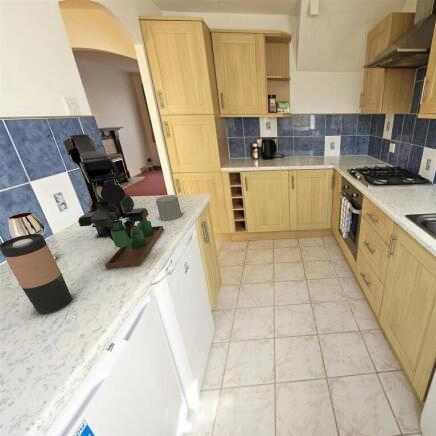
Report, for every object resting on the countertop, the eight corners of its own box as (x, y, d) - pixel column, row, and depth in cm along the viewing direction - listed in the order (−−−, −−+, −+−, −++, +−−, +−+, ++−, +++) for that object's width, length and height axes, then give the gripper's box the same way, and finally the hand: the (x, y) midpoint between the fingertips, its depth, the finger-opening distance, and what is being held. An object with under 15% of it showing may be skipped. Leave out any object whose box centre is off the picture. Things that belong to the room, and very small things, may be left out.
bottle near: (139, 239, 101) (133, 220, 98) (143, 233, 106) (138, 215, 103) (151, 237, 102) (146, 219, 99) (155, 232, 107) (150, 214, 103)
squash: (89, 207, 123) (95, 187, 115) (118, 199, 136) (125, 181, 128) (108, 227, 122) (115, 209, 115) (135, 217, 135) (143, 200, 127)
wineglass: (64, 257, 89) (43, 212, 82) (37, 270, 82) (11, 221, 75) (50, 254, 91) (28, 210, 84) (22, 266, 84) (-4, 219, 77)
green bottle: (112, 248, 82) (104, 225, 78) (119, 241, 86) (111, 219, 83) (128, 246, 82) (121, 224, 79) (134, 239, 87) (127, 218, 84)
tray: (106, 269, 81) (104, 264, 81) (139, 231, 108) (137, 228, 107) (139, 265, 83) (138, 260, 82) (163, 229, 109) (162, 225, 109)
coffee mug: (182, 217, 122) (178, 198, 118) (160, 221, 117) (155, 202, 113) (179, 209, 133) (175, 192, 129) (159, 213, 128) (154, 195, 124)
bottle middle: (129, 250, 93) (123, 230, 89) (134, 244, 97) (128, 225, 94) (143, 249, 94) (137, 229, 90) (148, 242, 98) (142, 223, 95)
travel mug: (51, 296, 70) (19, 234, 62) (79, 294, 70) (51, 232, 62) (27, 316, 63) (-13, 249, 55) (58, 313, 63) (23, 247, 55)
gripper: (57, 207, 69) (78, 254, 75) (129, 202, 72) (143, 247, 78) (80, 195, 79) (97, 238, 85) (143, 191, 82) (154, 232, 88)
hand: (122, 239), depth 84 cm, fingers closed on green bottle, 5 cm apart
